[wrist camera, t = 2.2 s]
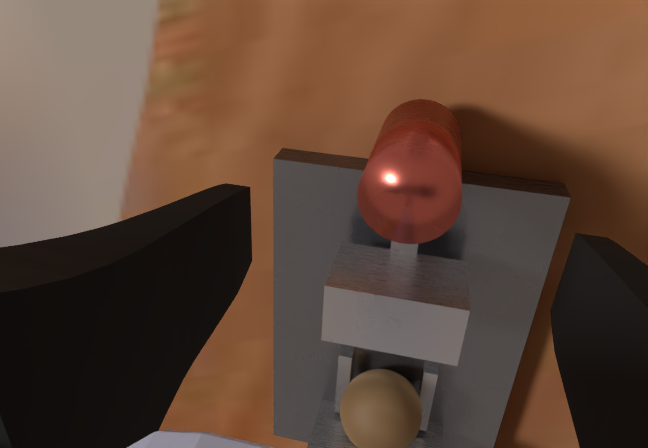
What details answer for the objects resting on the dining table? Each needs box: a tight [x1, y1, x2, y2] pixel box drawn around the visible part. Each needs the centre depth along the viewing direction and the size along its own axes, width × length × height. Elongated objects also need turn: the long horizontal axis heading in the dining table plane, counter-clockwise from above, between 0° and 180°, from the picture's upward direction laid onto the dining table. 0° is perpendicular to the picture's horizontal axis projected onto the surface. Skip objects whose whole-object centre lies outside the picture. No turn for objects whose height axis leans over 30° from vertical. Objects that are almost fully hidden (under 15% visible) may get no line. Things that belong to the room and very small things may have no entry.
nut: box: [340, 369, 422, 448], centre depth 23 cm, size 4×4×4 cm
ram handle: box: [321, 99, 470, 366], centre depth 17 cm, size 8×5×5 cm, turn 177°
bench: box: [273, 148, 571, 448], centre depth 22 cm, size 16×11×6 cm
